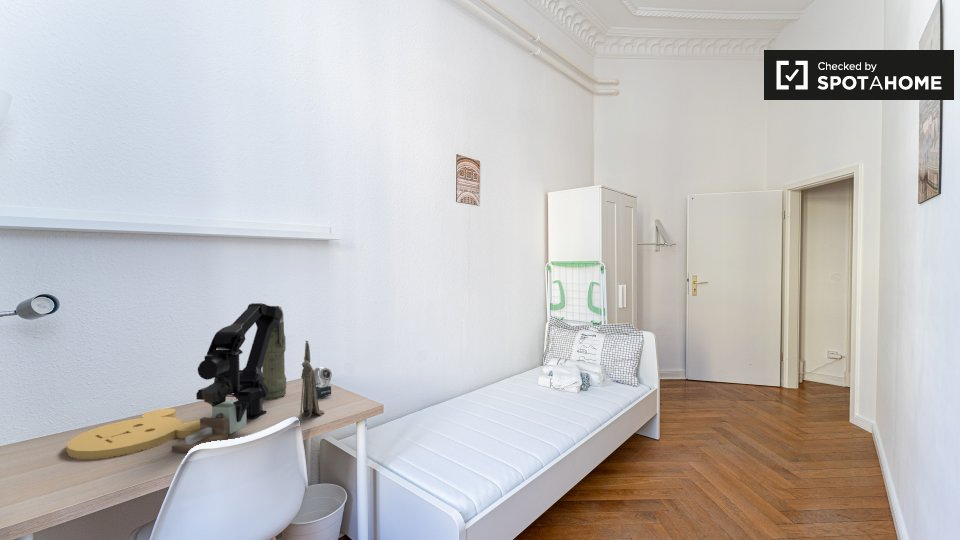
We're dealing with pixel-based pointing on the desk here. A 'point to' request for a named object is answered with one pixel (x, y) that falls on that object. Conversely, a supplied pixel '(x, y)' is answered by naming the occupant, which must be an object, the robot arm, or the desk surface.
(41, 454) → the desk surface
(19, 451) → the desk surface
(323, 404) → the desk surface
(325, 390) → the watch
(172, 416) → the decorative plaque
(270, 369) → the thermos
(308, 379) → the wizard figurine
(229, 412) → the cabinet block
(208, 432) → the cleat board
